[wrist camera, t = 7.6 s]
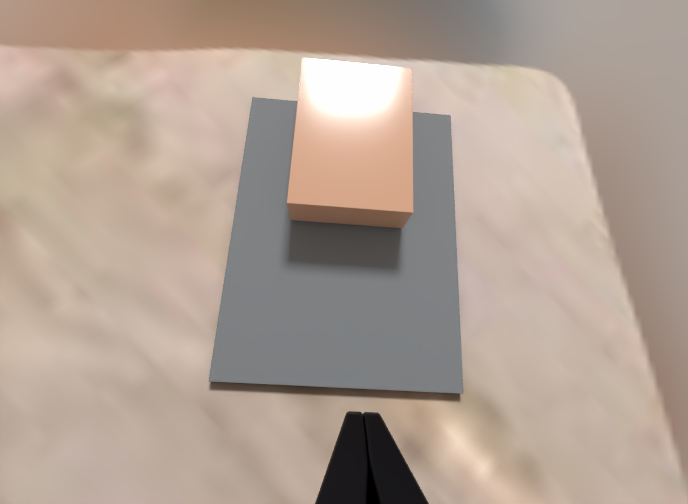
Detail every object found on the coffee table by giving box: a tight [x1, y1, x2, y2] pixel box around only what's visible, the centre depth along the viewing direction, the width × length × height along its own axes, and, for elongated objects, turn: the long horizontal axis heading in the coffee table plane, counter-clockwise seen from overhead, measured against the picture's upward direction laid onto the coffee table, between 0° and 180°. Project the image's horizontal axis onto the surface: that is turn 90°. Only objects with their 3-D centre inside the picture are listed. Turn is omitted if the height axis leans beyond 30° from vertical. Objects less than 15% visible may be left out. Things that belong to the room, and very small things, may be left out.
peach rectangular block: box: [287, 58, 413, 228], centre depth 22 cm, size 3×7×10 cm
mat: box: [209, 97, 463, 394], centre depth 22 cm, size 18×14×1 cm
